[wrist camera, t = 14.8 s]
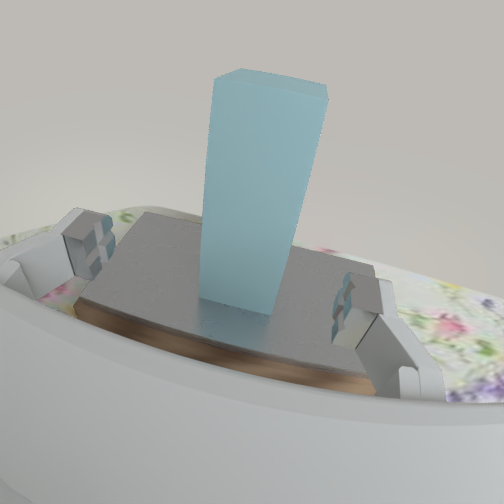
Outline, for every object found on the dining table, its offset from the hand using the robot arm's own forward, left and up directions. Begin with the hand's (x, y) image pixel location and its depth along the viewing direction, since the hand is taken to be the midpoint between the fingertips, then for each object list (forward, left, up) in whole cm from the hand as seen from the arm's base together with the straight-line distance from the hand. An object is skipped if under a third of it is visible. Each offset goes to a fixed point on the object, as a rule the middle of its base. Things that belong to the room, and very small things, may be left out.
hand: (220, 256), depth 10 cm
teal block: (0, +9, -9) cm, 13 cm away
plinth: (0, +9, -13) cm, 16 cm away
